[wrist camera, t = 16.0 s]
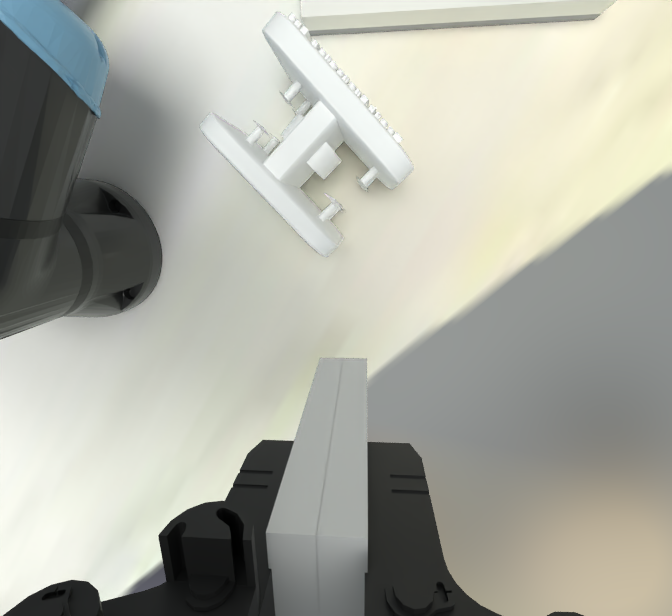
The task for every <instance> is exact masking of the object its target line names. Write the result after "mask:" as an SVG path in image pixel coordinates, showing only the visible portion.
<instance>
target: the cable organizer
mask: <svg viewBox="0 0 672 616" xmlns="http://www.w3.org/2000/svg"><path fill="white" fill-rule="evenodd" d="M262 31H263V34H264V36H265V38H266V40H267V42H268V43H269V45H270V47H271V49H272V50H273V52H274V54H275V55H276V57H277V59H278V60H279V62H280V64H281V65H282V67H283V69H284V70H285V72H286V74H287V76H288V77H289V79H290V80H291V81H292V83H293V84H292V85H291V86H290V88H289V89H288V90H287V91H286V92H285V93H284V95H283V94H282V93H281V92H280V93H281V95H282V96H283V98H284V99H285V101H286V102H287V103H288V104H290V105H291V106H292V104H291V103H290V101H291V100H292V99H293V98H294V97H295V95H296V94H297V93H298V92H300V93H301V94H302V95H303V96H304V97H305V98H306V101H305V102H304V103H303V104H302V105H301V106H300V107H299V108H298V110H297V111H296V112H295V111H294V110H293V111H294V112H295V114H296V116H295V118H294V119H293V120H292V121H291V123H290V124H289V125H288V126H287V128H286V129H285V130H284V131H283V133H282V134H281V136H282V137H283V138H284V140H283V141H282V142H281V143H280V141H279V140H278V139H277V138H276V137H275V136H273V135H272V134H271V135H272V136H273V138H272V139H271V140H270V141H269V143H268V144H267V145H266V146H265V147H264V148H262V147H261V146H260V145H259V144H258V143H257V142H256V141H257V140H258V139H259V138H260V137H261V136H262V134H263V133H264V132H265V133H266V134H267V135H268V133H267V132H266V130H265V129H264V127H262V126H261V125H259V124H258V123H257V122H255V121H254V120H253V121H254V122H255V123H256V124H257V125H258V126H257V127H256V128H255V130H254V131H253V132H252V133H251V134H250V135H248V134H246V133H245V132H243V131H241V130H240V129H238V128H237V127H235V126H233V125H232V124H230V123H229V122H227V121H225V120H224V119H222V118H221V117H219V116H218V115H216V114H214V113H212V112H210V113H209V114H208V116H207V117H206V118H205V119H204V121H203V122H202V123H201V124H200V129H201V131H202V132H203V134H204V135H205V137H206V138H207V139H208V140H209V141H210V143H211V144H212V145H213V146H214V147H215V148H216V149H217V150H218V151H219V152H220V153H221V154H222V155H223V156H224V157H225V158H226V159H227V160H228V162H229V163H230V164H231V165H232V166H233V167H234V168H235V169H236V170H237V171H238V172H239V173H240V174H241V175H242V176H243V177H244V178H245V179H246V180H247V181H248V182H249V183H250V184H251V185H252V187H253V188H254V189H255V190H256V191H257V192H258V193H259V194H260V195H261V196H262V197H263V198H264V199H265V200H266V201H267V202H268V203H269V204H270V205H271V206H272V207H273V208H274V209H275V210H276V212H277V213H278V214H279V215H280V216H281V217H282V218H283V219H284V220H285V221H286V222H287V223H288V224H289V225H290V226H291V227H292V228H293V229H294V230H295V231H296V232H297V233H298V234H299V235H300V237H301V238H302V239H303V240H304V241H305V242H306V243H307V244H308V245H309V246H311V247H312V248H313V249H314V250H315V251H316V252H318V253H319V254H321V255H322V256H324V257H328V256H329V255H330V254H331V253H332V252H333V251H334V250H335V249H336V248H337V247H338V246H339V245H340V243H341V242H342V241H343V240H344V237H343V235H342V234H341V232H340V231H339V230H338V228H337V227H336V226H335V225H334V224H333V223H332V221H331V220H330V219H331V218H332V217H333V216H334V215H335V214H336V213H337V212H338V211H339V210H340V211H341V212H342V210H341V208H342V209H343V210H344V208H343V207H342V205H341V204H340V203H338V202H337V201H336V199H334V198H333V197H331V196H329V195H327V194H326V193H324V194H325V195H326V196H327V197H328V198H329V199H330V200H331V203H330V204H329V205H328V206H327V207H326V208H325V209H324V210H323V211H321V210H320V209H319V208H318V206H317V205H316V204H315V203H314V202H313V201H312V200H311V199H310V198H309V197H308V196H307V195H306V194H305V193H304V192H303V190H302V189H301V188H300V187H301V186H302V185H303V184H304V183H305V182H306V181H307V180H308V179H309V178H310V176H311V175H312V174H313V173H314V172H316V173H317V174H318V175H319V176H320V177H321V178H322V179H325V178H326V177H327V176H328V175H329V174H330V173H331V172H332V171H333V170H334V169H335V168H336V167H337V166H338V165H339V164H340V163H341V162H342V161H341V159H340V158H339V157H338V155H337V154H336V153H335V152H334V151H335V150H336V149H337V148H338V147H339V146H340V145H341V144H342V143H343V141H344V142H345V143H346V144H347V145H348V146H349V147H350V148H351V150H352V151H353V152H354V153H355V154H356V155H357V156H358V157H359V159H360V160H361V161H362V162H363V163H364V164H365V165H366V166H367V167H368V169H369V171H368V172H367V173H366V174H365V175H364V176H363V177H362V178H361V179H359V178H358V177H357V176H356V177H357V179H358V180H357V181H358V183H359V184H360V186H361V187H362V188H363V189H364V190H365V191H367V190H366V188H367V187H368V186H369V185H370V184H371V183H372V182H373V181H374V180H375V179H376V178H378V179H379V180H380V181H381V182H382V183H383V184H384V185H385V186H387V187H388V188H389V189H394V188H395V187H396V186H398V185H399V184H400V183H401V182H402V181H403V180H404V179H405V178H406V177H407V176H408V175H409V174H410V173H411V172H412V171H413V170H414V166H413V164H412V162H411V160H410V158H409V157H408V155H407V154H406V152H405V151H404V150H403V148H402V147H401V146H400V144H399V143H400V142H401V141H402V140H403V138H402V137H401V136H400V135H399V134H398V133H397V132H396V133H395V131H394V130H393V129H392V128H391V127H389V128H388V129H386V127H387V126H388V124H387V122H386V120H385V119H383V118H382V119H381V120H380V121H379V118H380V117H381V115H380V112H377V113H376V107H375V108H374V107H373V106H372V105H370V106H369V107H368V105H369V99H368V98H367V97H366V96H365V95H364V94H363V95H362V96H361V92H360V91H359V89H358V88H357V89H356V86H355V85H354V84H353V83H352V82H350V83H349V80H350V79H349V78H348V76H346V75H344V73H343V71H342V70H341V69H340V68H339V69H338V67H337V65H336V63H335V62H334V61H333V60H332V58H331V57H330V55H328V54H327V53H326V52H325V50H324V49H323V48H322V47H321V49H320V47H319V43H318V42H317V41H316V40H315V39H314V40H313V41H312V39H311V36H310V33H309V30H308V29H307V28H306V27H305V26H304V25H303V26H302V24H301V23H300V22H299V20H298V19H296V17H295V16H294V14H293V13H291V14H290V15H289V16H288V17H286V16H285V15H284V14H282V13H281V12H276V13H275V14H274V16H273V17H272V18H271V19H270V21H269V22H268V23H267V24H266V26H265V27H264V28H263V30H262ZM311 41H312V42H311ZM331 60H332V61H331ZM337 70H338V71H337ZM336 71H337V72H336ZM348 83H349V85H347V84H348ZM311 106H313V107H312V109H311V110H310V111H309V112H308V113H307V114H306V115H305V116H304V117H303V115H304V114H305V113H306V111H307V110H308V109H309V108H310V107H311ZM292 107H293V106H292ZM367 107H368V108H367ZM293 108H294V107H293ZM268 136H269V135H268ZM278 143H280V144H279V146H278V147H277V148H276V149H275V150H274V151H273V152H272V153H271V155H269V153H270V152H271V151H272V150H273V149H274V147H275V146H276V145H277V144H278ZM367 189H368V188H367ZM367 192H368V191H367ZM344 211H345V210H344ZM342 213H343V212H342Z"/></svg>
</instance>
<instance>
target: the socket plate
mask: <svg viewBox="0 0 672 616" xmlns="http://www.w3.org/2000/svg"><path fill="white" fill-rule="evenodd" d="M616 1H617V0H300V4H301V19H302V22H303V25H304V26H305V27H306V28H307V29H308V30H309V33H310V36H315V35H332V34H350V33H367V32H385V31H403V30H420V29H438V28H455V27H473V26H490V25H508V24H525V23H543V22H561V21H578V20H594V19H595V18H597V17H598V16H599V15H600V14H601V13H603V12H604V11H605V10H606V9H607V8H609V7H610V6H611V5H612V4H613V3H615V2H616Z"/></svg>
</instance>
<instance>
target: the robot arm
mask: <svg viewBox="0 0 672 616" xmlns="http://www.w3.org/2000/svg"><path fill="white" fill-rule="evenodd" d="M108 71H109V60H108V55H107V52H106V49H105V47H104V45H103V44H102V42H101V40H100V39H99V37H98V36H97V35H96V34H95V33H94V31H93V30H92V29H91V28H90V27H89V26H88V25H87V24H86V23H85V22H84V21H82V20H81V19H80V18H79V17H78V16H77V15H76V14H75V13H73V12H72V11H71V10H70V9H69V8H68V7H67V6H65V5H64V4H63V3H62V2H60V1H59V0H0V339H3V338H6V337H9V336H11V335H14V334H17V333H19V332H22V331H25V330H27V329H30V328H33V327H35V326H38V325H41V324H43V323H46V322H49V321H52V320H54V319H57V318H60V317H62V316H73V317H105V316H111V315H115V314H118V313H121V312H123V311H126V310H128V309H131V308H133V307H135V306H136V305H138V304H140V303H141V302H142V301H143V300H145V299H146V298H147V297H148V296H149V294H150V293H151V292H152V290H153V289H154V287H155V285H156V283H157V281H158V278H159V275H160V270H161V262H162V254H161V246H160V241H159V238H158V234H157V232H156V229H155V227H154V225H153V223H152V221H151V219H150V218H149V216H148V215H147V213H146V212H145V210H144V209H143V208H142V207H141V206H140V205H139V203H138V202H137V201H135V200H134V199H133V198H132V197H131V196H130V195H128V194H127V193H126V192H124V191H122V190H121V189H119V188H117V187H115V186H113V185H111V184H108V183H105V182H101V181H96V180H87V179H77V176H78V173H79V170H80V167H81V164H82V161H83V158H84V155H85V152H86V149H87V146H88V143H89V140H90V137H91V134H92V131H93V128H94V125H95V122H96V119H97V118H99V119H100V116H101V110H100V108H99V107H100V102H101V98H102V95H103V91H104V87H105V83H106V79H107V75H108ZM158 536H159V542H160V547H161V553H162V558H163V564H164V570H165V574H166V582H165V583H163V584H162V585H160V586H157V587H154V588H151V589H148V590H145V591H142V592H138V593H134V594H130V595H126V596H122V597H118V598H114V599H110V600H107V601H103V602H101V601H100V597H99V593H98V590H97V589H96V588H95V587H93V586H92V585H91V584H90V583H89V582H86V581H77V580H70V581H65V582H61V583H57V584H53V585H50V586H48V587H46V588H44V589H42V590H40V591H38V592H36V593H34V594H32V595H30V596H28V597H27V598H26V599H24V600H23V601H22V602H20V603H19V604H18V605H16V606H15V607H14V608H12V609H11V610H10V611H8V612H7V613H6V614H4V615H3V616H501V615H499V614H497V613H495V612H493V611H491V610H488V609H487V608H485V607H483V606H481V605H479V604H478V603H477V602H476V601H474V600H473V599H472V598H470V597H469V596H468V595H467V594H466V593H465V592H464V591H463V590H462V589H461V588H460V587H459V586H458V585H457V584H456V582H455V581H454V579H453V578H452V576H451V574H450V573H449V571H448V569H447V566H446V563H445V560H444V557H443V553H442V548H441V544H440V539H439V535H438V530H437V526H436V521H435V517H434V512H433V508H432V503H431V499H430V495H429V490H428V485H427V481H426V478H425V472H424V467H423V463H422V458H421V457H420V456H419V455H418V453H417V452H416V451H415V450H414V448H413V447H412V446H411V445H410V444H409V443H380V442H379V443H378V442H367V359H360V358H320V360H319V363H318V366H317V369H316V373H315V376H314V379H313V382H312V386H311V389H310V392H309V395H308V398H307V402H306V405H305V408H304V411H303V414H302V418H301V421H300V424H299V427H298V430H297V434H296V437H295V440H294V441H279V440H262V441H261V442H260V443H259V444H258V445H257V446H256V447H255V448H253V449H252V450H251V451H250V452H249V453H248V454H247V457H246V459H245V461H244V463H243V465H242V467H241V469H240V473H238V475H237V477H236V479H235V481H234V483H233V488H231V490H230V492H229V494H228V496H227V498H226V500H225V501H217V502H207V503H203V504H200V505H198V506H195V507H193V508H190V509H187V510H186V511H184V512H183V513H182V514H180V515H179V516H177V517H176V518H174V519H173V520H171V521H170V522H169V524H168V525H167V526H166V527H165V528H164V529H163V531H162V532H161V533H160V534H159V535H158ZM547 616H583V615H580V614H578V613H575V612H553V613H551V614H549V615H547Z"/></svg>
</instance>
